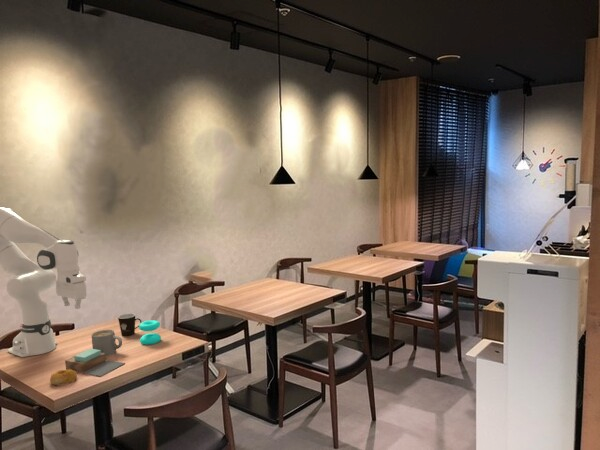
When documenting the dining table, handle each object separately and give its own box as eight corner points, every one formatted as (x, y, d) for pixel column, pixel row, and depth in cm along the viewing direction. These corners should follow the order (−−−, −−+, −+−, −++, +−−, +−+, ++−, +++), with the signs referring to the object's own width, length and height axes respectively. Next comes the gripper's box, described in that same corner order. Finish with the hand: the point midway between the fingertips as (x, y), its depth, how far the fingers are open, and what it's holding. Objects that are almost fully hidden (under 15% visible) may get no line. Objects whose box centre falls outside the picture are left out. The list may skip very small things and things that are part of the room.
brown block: (66, 369, 206) (65, 360, 206) (88, 359, 217) (87, 350, 217) (84, 372, 202) (83, 363, 202) (106, 362, 213) (105, 353, 213)
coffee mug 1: (88, 357, 220) (86, 336, 219) (102, 349, 229) (100, 329, 228) (114, 358, 217) (112, 337, 216) (126, 350, 226) (125, 330, 225)
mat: (82, 373, 201) (82, 372, 201) (107, 361, 214) (107, 360, 214) (100, 376, 197) (100, 375, 197) (125, 363, 210) (125, 363, 210)
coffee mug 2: (116, 335, 248) (114, 317, 247) (130, 330, 255) (128, 312, 254) (129, 339, 242) (127, 320, 241) (143, 334, 249) (142, 315, 247)
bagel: (81, 374, 201) (80, 363, 200) (70, 386, 190) (69, 375, 189) (58, 376, 200) (56, 365, 200) (45, 388, 190) (43, 376, 189)
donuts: (154, 325, 230) (135, 325, 231) (156, 345, 231) (136, 345, 232) (162, 319, 240) (143, 319, 241) (164, 338, 241) (145, 338, 242)
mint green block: (74, 360, 206) (74, 356, 206) (91, 352, 214) (90, 348, 214) (84, 362, 203) (84, 357, 203) (101, 354, 212) (100, 350, 211)
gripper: (50, 275, 213) (54, 306, 214) (73, 280, 200) (76, 311, 202) (64, 273, 218) (67, 302, 219) (87, 277, 205) (91, 308, 207)
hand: (72, 307), depth 211 cm, fingers open, 8 cm apart
